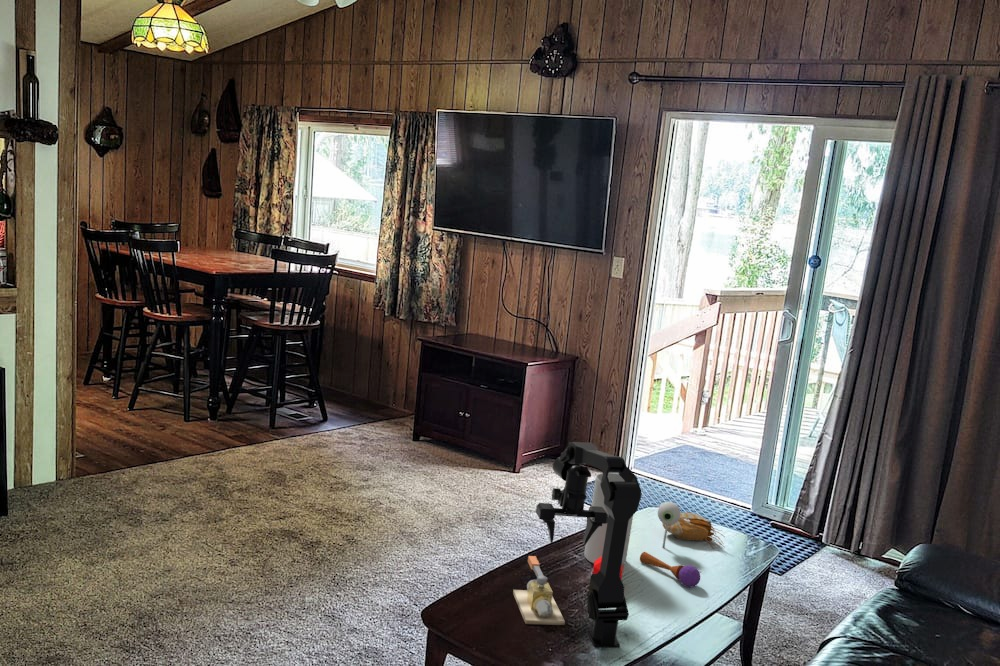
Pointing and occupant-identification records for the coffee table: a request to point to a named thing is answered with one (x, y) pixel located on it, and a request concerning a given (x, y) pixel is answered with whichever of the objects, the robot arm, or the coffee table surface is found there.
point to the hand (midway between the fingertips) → (567, 543)
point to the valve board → (531, 615)
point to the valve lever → (537, 569)
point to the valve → (540, 598)
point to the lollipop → (668, 515)
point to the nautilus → (693, 528)
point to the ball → (598, 564)
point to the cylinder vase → (598, 537)
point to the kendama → (675, 570)
